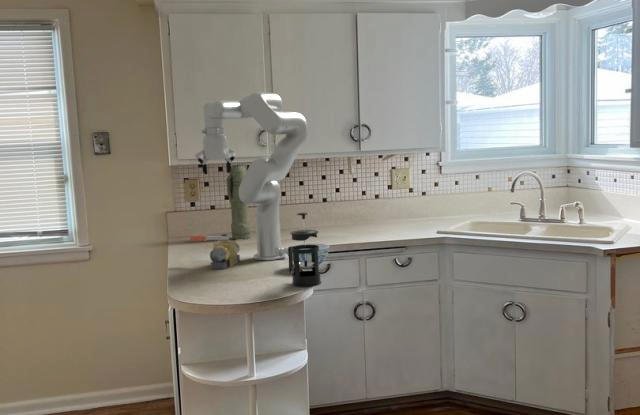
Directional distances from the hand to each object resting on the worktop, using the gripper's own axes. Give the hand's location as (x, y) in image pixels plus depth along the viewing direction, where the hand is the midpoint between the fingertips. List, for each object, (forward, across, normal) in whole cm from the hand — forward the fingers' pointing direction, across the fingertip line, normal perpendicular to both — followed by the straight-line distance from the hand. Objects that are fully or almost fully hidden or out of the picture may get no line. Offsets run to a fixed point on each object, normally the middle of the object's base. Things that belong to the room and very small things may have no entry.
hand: (217, 173), depth 270 cm
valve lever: (+24, -10, -25) cm, 37 cm away
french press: (+34, +9, -75) cm, 83 cm away
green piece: (+33, +17, +32) cm, 49 cm away
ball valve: (+34, -6, -29) cm, 45 cm away
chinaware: (+34, +19, -52) cm, 65 cm away
